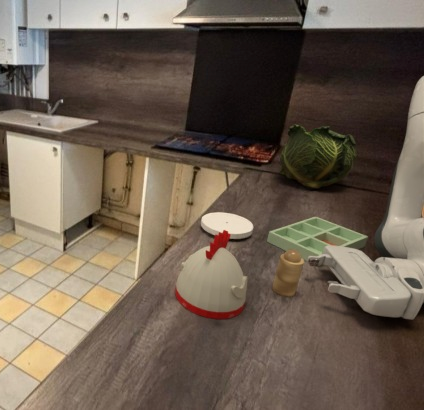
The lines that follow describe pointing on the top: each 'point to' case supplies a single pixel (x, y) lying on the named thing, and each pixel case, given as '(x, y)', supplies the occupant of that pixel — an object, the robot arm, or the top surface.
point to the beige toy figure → (288, 273)
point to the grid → (315, 237)
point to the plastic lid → (227, 225)
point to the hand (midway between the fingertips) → (317, 272)
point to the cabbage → (317, 156)
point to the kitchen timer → (212, 281)
